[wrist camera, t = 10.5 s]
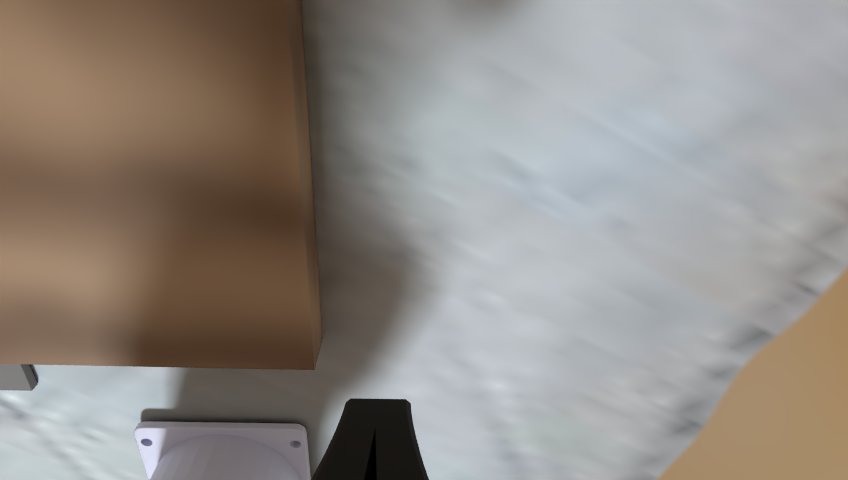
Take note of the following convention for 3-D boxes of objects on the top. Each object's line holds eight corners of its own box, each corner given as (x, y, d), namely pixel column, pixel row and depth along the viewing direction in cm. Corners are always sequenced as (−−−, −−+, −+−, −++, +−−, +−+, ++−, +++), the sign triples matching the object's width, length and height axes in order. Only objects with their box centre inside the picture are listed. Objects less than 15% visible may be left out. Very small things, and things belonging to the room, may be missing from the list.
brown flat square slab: (322, 337, 22) (314, 369, 20) (-9, 330, 21) (-47, 363, 20) (299, -25, 15) (284, -26, 14) (-179, -49, 15) (-259, -52, 13)
